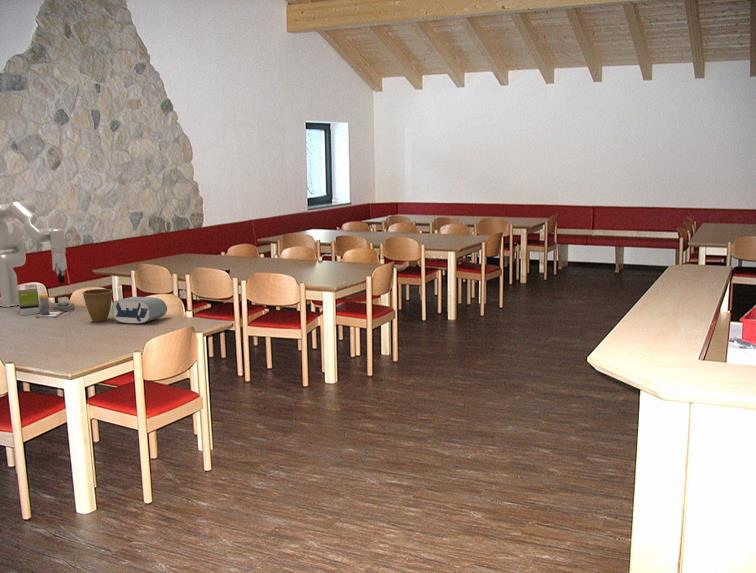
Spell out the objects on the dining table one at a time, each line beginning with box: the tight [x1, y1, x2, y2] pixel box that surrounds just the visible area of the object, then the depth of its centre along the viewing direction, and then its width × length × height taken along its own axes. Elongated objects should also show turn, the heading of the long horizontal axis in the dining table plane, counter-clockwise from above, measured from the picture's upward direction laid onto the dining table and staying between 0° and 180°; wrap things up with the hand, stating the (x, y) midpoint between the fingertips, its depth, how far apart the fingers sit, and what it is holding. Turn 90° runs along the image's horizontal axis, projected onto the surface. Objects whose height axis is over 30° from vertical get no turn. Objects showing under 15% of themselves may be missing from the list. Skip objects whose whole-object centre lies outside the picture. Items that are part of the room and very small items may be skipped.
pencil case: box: [111, 296, 168, 324], centre depth 405 cm, size 22×19×13 cm
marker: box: [39, 293, 50, 315], centre depth 420 cm, size 4×4×11 cm
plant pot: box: [82, 288, 113, 323], centre depth 406 cm, size 15×15×16 cm
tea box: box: [18, 283, 41, 316], centre depth 431 cm, size 15×10×15 cm
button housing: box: [52, 302, 75, 312], centre depth 436 cm, size 9×9×3 cm
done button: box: [57, 296, 69, 306], centre depth 435 cm, size 5×5×4 cm
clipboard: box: [35, 309, 65, 319], centre depth 423 cm, size 14×11×1 cm
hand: (61, 282), depth 433 cm, fingers closed
